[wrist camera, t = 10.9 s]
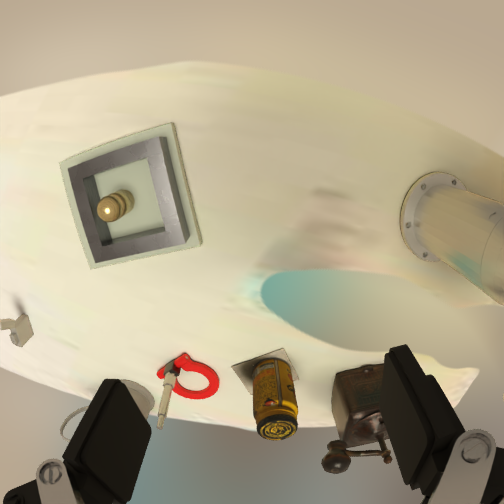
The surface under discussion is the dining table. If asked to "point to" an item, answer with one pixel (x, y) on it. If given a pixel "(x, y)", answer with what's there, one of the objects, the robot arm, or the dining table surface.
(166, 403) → the tow hook
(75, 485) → the robot arm
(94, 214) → the square metal frame
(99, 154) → the plate
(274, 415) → the condiment
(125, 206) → the post
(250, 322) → the dining table surface
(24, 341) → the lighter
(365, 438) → the manual coffee grinder
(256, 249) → the dining table surface
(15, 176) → the dining table surface
